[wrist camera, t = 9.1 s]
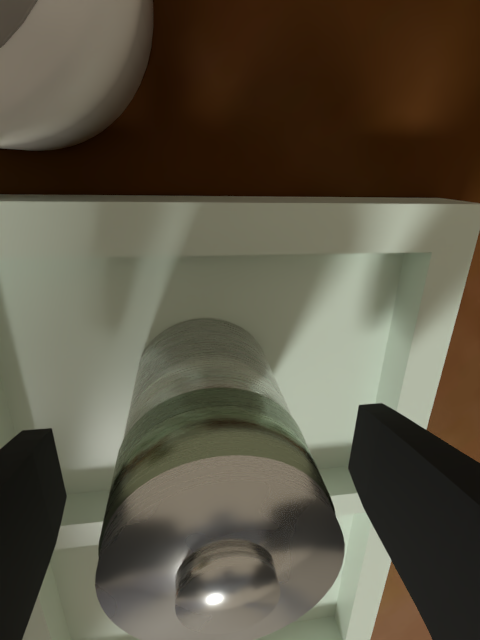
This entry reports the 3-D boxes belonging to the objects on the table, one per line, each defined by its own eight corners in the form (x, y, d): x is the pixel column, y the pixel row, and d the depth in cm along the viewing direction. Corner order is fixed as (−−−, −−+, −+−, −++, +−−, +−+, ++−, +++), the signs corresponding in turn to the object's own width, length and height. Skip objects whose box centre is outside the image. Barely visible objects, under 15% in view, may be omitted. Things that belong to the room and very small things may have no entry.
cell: (268, 423, 12) (345, 652, 7) (144, 438, 12) (110, 699, 6) (269, 311, 11) (373, 483, 5) (126, 322, 10) (56, 526, 5)
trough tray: (349, 613, 19) (365, 656, 17) (55, 660, 17) (41, 715, 15) (440, 198, 11) (486, 204, 9) (-90, 193, 9) (-150, 200, 7)
